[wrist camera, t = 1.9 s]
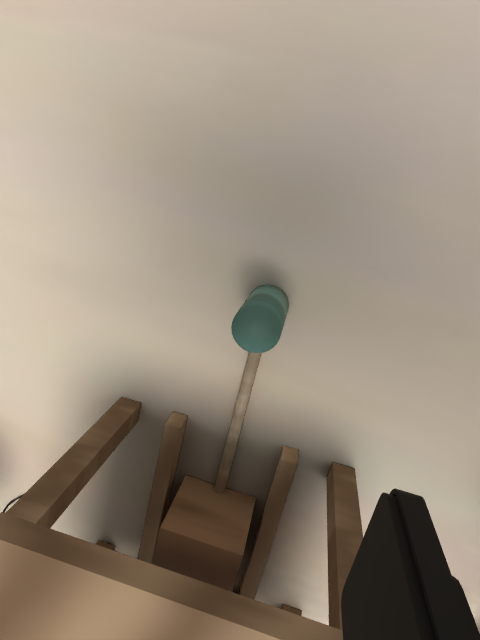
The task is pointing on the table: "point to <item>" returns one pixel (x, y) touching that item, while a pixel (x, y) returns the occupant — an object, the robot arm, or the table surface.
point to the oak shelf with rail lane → (151, 558)
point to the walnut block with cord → (222, 470)
